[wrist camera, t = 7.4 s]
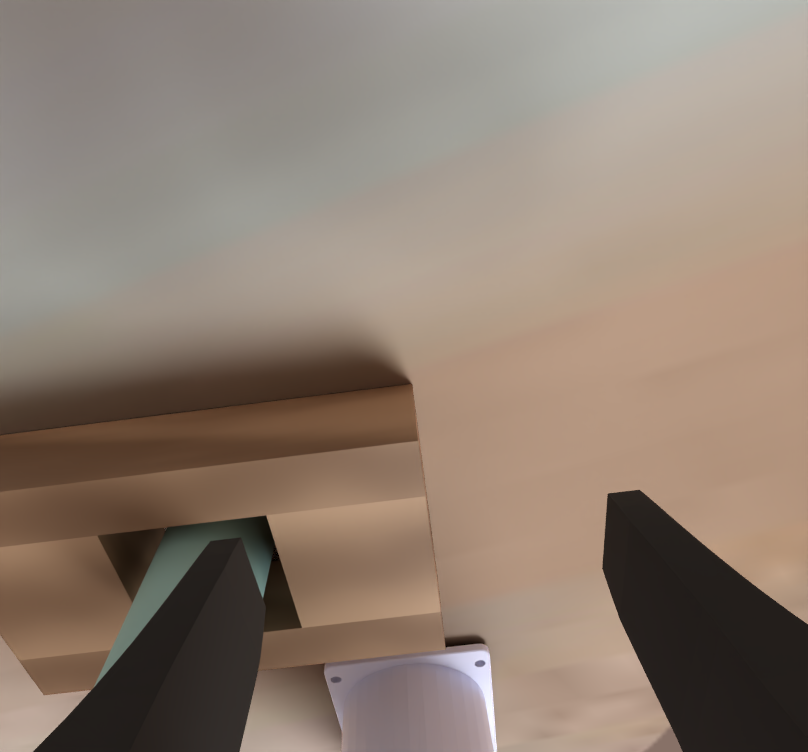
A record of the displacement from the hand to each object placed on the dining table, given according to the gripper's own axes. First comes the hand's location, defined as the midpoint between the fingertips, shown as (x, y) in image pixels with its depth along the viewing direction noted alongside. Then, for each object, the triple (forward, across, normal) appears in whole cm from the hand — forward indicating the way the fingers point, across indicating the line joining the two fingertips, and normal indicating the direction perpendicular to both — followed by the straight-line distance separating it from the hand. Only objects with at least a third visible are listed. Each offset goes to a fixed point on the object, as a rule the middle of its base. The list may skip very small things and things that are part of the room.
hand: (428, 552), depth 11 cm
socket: (+9, +8, +6) cm, 14 cm away
